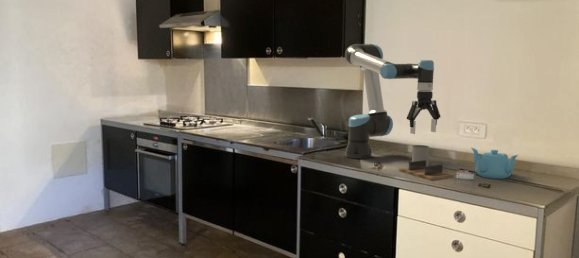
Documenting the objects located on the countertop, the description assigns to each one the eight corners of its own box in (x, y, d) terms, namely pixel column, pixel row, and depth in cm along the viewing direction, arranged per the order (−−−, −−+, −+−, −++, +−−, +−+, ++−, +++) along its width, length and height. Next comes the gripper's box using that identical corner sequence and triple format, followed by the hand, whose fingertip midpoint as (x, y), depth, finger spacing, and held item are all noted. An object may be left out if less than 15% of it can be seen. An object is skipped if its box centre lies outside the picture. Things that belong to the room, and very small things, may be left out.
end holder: (398, 170, 240) (399, 160, 240) (420, 168, 247) (421, 157, 246) (430, 180, 221) (430, 169, 220) (453, 177, 227) (453, 166, 227)
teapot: (476, 179, 223) (478, 153, 221) (469, 170, 241) (470, 146, 239) (517, 181, 220) (518, 154, 218) (506, 172, 238) (508, 147, 236)
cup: (416, 163, 259) (416, 144, 257) (430, 165, 254) (431, 146, 252) (408, 165, 252) (409, 146, 251) (424, 167, 247) (424, 148, 246)
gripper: (410, 92, 237) (408, 135, 240) (448, 90, 248) (446, 132, 251) (400, 91, 244) (398, 133, 247) (438, 89, 255) (436, 130, 258)
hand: (423, 132), depth 249 cm, fingers open, 13 cm apart
